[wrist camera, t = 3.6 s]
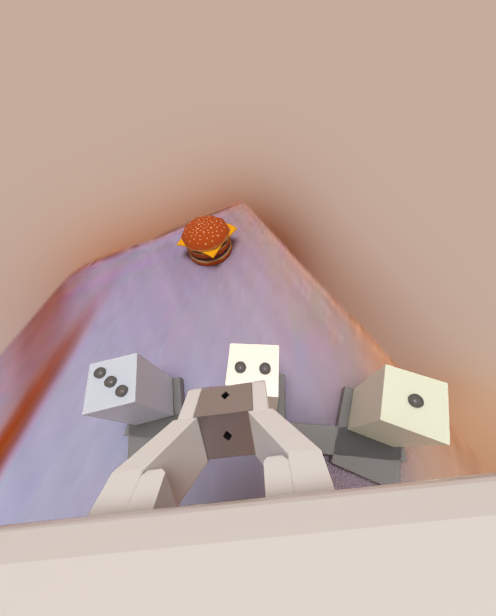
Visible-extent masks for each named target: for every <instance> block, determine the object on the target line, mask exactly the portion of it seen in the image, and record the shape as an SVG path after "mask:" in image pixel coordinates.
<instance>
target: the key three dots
mask: <svg viewBox="0 0 496 616" xmlns="http://www.w3.org/2000/svg"><path fill="white" fill-rule="evenodd" d="M82 415H85V416H91V417H96V418H101V419H106V420H112V421H117V422H122V423H127V424H133V425H138V424H142V423H146V422H150V421H154V420H158V419H162V418H166V417H170V416H174V413H173V388H172V378H171V377H170V376H168V375H167V374H166V373H164V372H163V371H162V370H160V369H159V368H157V367H156V366H155V365H153V364H152V363H150V362H149V361H148V360H146V359H145V358H144V357H142V356H141V355H139V354H138V353H135V354H131V355H126V356H122V357H118V358H114V359H110V360H106V361H101V362H97V363H93V364H90V368H89V374H88V381H87V387H86V393H85V400H84V406H83V412H82Z"/></svg>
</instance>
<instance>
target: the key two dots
mask: <svg viewBox="0 0 496 616" xmlns="http://www.w3.org/2000/svg"><path fill="white" fill-rule="evenodd" d="M260 380H265V382H266V389H267V397H268V404H269V409H272V408H273V409H274V410H275V411H276V412H277V406H278V387H279V345H257V344H232V343H231V344H230V351H229V359H228V367H227V375H226V383H225V385H235V384H242V383H249V382H254V381H260Z"/></svg>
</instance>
